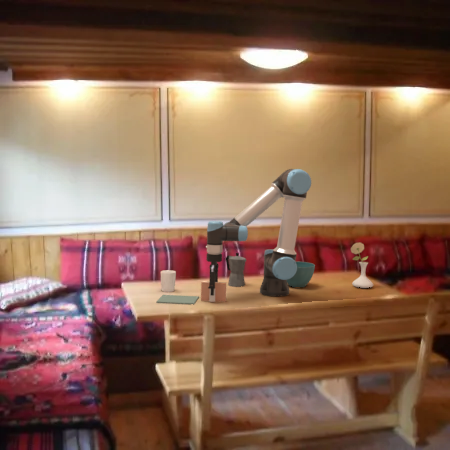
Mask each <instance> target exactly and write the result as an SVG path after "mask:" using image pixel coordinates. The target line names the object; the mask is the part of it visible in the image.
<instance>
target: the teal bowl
mask: <svg viewBox="0 0 450 450" xmlns="http://www.w3.org/2000/svg"><path fill="white" fill-rule="evenodd" d="M295 262H296V264H297V271H296V273H295V275H294V276H293V277H292V278H290V279H287V283H288V287H291V286H292V287H291V288H295V287H303V288H305V287H306V286H307V285H309V283H310V281H311V280H312V278H313V275H314V272H315V266H316V265H315V264H314V263H312V262H308V261H307V262H306V261H295Z"/></svg>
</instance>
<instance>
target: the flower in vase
mask: <svg viewBox="0 0 450 450" xmlns="http://www.w3.org/2000/svg"><path fill="white" fill-rule="evenodd" d="M364 250H365V245H364V243H362V242H355V243H354V244H353V245H352V246H351V247H350V252H351V253H352V254H354V255H356V256H354V257H353V258H352V260H353V261H359V260H361V261H359V262H358V264H359V266H360V270H361V271H360V275H359V277H357V278H356V279H354V280H353V281H352V283H351V284H352V286H353V287H355V288H359V287H360V289H367V288H368V289H369V287H370V288H372V287H373V286H374V283H373V282H372V280H370V279H369V278H368V277H367V276H366V269H367V266H368V264H369V262H368V261H366V260H367V259H368V258H369V256H368V255H367V256H365V257H362V258H361V255H360V253H362V252H363V251H364ZM357 254H358V255H359V256H357Z"/></svg>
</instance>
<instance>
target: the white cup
mask: <svg viewBox="0 0 450 450" xmlns="http://www.w3.org/2000/svg"><path fill="white" fill-rule="evenodd" d="M176 276H177V271H176V270H170V269H169V270H168V269H167V270H161V271H160V287H161V291H162V292H164V293H172V292H174V291H175V289H176V288H175V287H176Z"/></svg>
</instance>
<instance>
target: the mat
mask: <svg viewBox="0 0 450 450" xmlns="http://www.w3.org/2000/svg"><path fill="white" fill-rule="evenodd" d="M198 299H199V295H178V294H177V295H175V294H162V295H161V296H160V297H159V298H158V299H157V300H156V304H175V305H176V304H177V305H191V304H193V305H195V304H196V302H197V301H198Z"/></svg>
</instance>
